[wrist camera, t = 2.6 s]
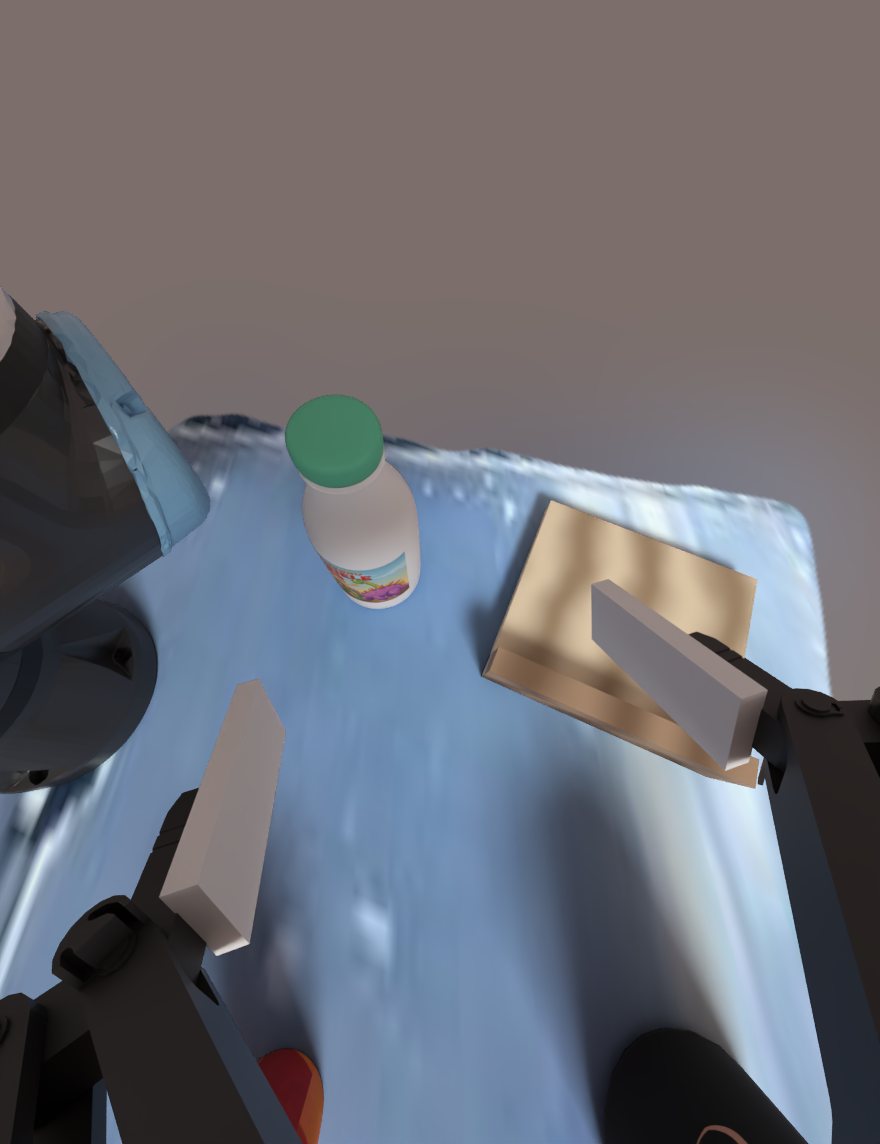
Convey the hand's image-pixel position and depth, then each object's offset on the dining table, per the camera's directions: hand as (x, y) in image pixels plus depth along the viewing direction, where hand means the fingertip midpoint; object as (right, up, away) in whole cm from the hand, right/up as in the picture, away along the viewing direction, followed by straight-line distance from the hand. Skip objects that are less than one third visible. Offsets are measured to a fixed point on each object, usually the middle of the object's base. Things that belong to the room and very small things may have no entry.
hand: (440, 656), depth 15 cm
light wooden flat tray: (+16, -2, +21) cm, 27 cm away
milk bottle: (-6, +3, +22) cm, 23 cm away
